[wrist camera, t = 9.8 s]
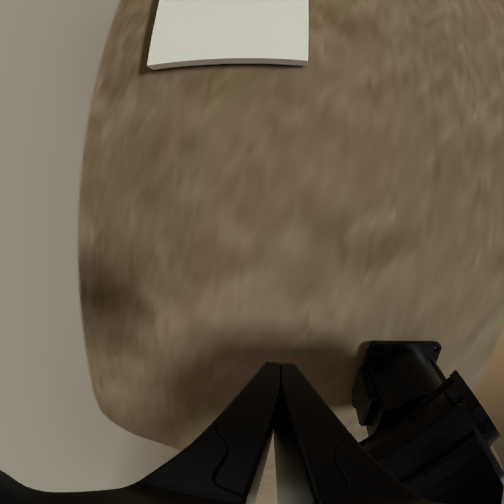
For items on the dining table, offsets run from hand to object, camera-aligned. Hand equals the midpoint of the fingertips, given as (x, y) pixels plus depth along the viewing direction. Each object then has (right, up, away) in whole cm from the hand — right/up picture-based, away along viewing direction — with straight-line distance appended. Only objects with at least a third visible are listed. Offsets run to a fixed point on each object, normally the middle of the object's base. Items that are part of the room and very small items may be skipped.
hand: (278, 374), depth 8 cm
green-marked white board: (-2, +24, +7) cm, 25 cm away
